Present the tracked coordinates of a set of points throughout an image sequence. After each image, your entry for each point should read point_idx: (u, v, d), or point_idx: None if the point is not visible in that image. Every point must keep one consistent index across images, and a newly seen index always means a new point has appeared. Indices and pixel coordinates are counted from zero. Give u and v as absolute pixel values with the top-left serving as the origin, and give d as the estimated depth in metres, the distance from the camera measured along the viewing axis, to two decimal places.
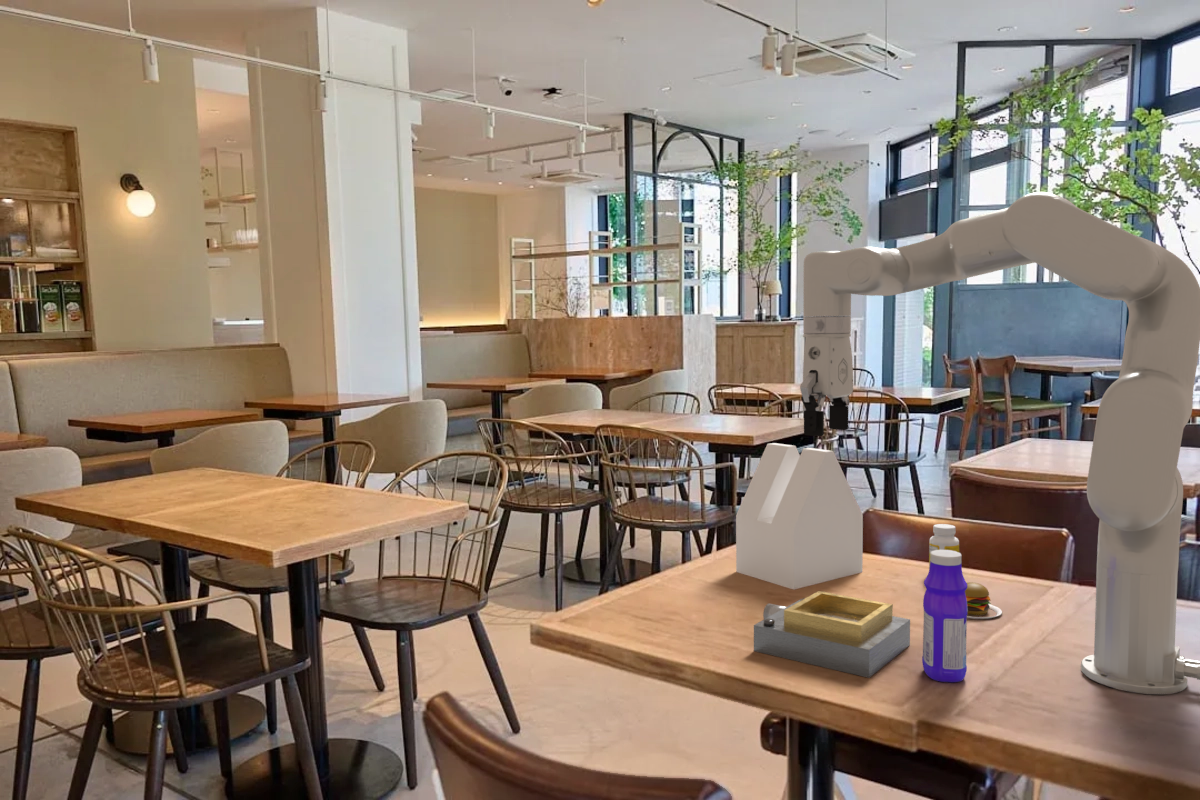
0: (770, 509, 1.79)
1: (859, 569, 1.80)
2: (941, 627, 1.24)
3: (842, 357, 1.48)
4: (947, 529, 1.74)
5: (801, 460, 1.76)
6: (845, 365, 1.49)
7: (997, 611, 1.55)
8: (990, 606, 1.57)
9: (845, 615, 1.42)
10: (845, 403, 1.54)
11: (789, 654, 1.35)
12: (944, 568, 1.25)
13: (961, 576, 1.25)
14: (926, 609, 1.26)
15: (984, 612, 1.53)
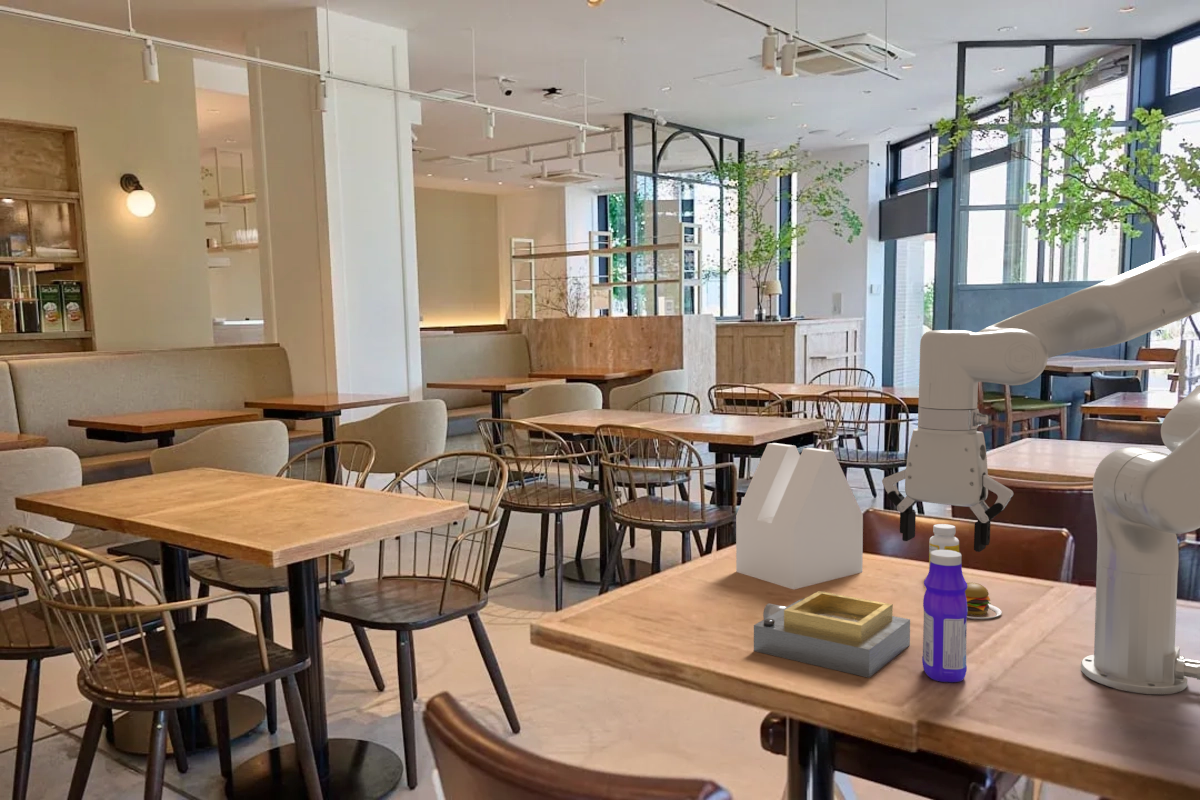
0: (770, 509, 1.79)
1: (859, 569, 1.80)
2: (941, 627, 1.24)
3: None
4: (947, 529, 1.74)
5: (801, 460, 1.76)
6: None
7: (997, 611, 1.55)
8: (989, 606, 1.57)
9: (845, 615, 1.42)
10: (911, 507, 1.30)
11: (789, 654, 1.35)
12: (944, 569, 1.25)
13: (961, 576, 1.25)
14: (926, 609, 1.26)
15: (984, 612, 1.53)
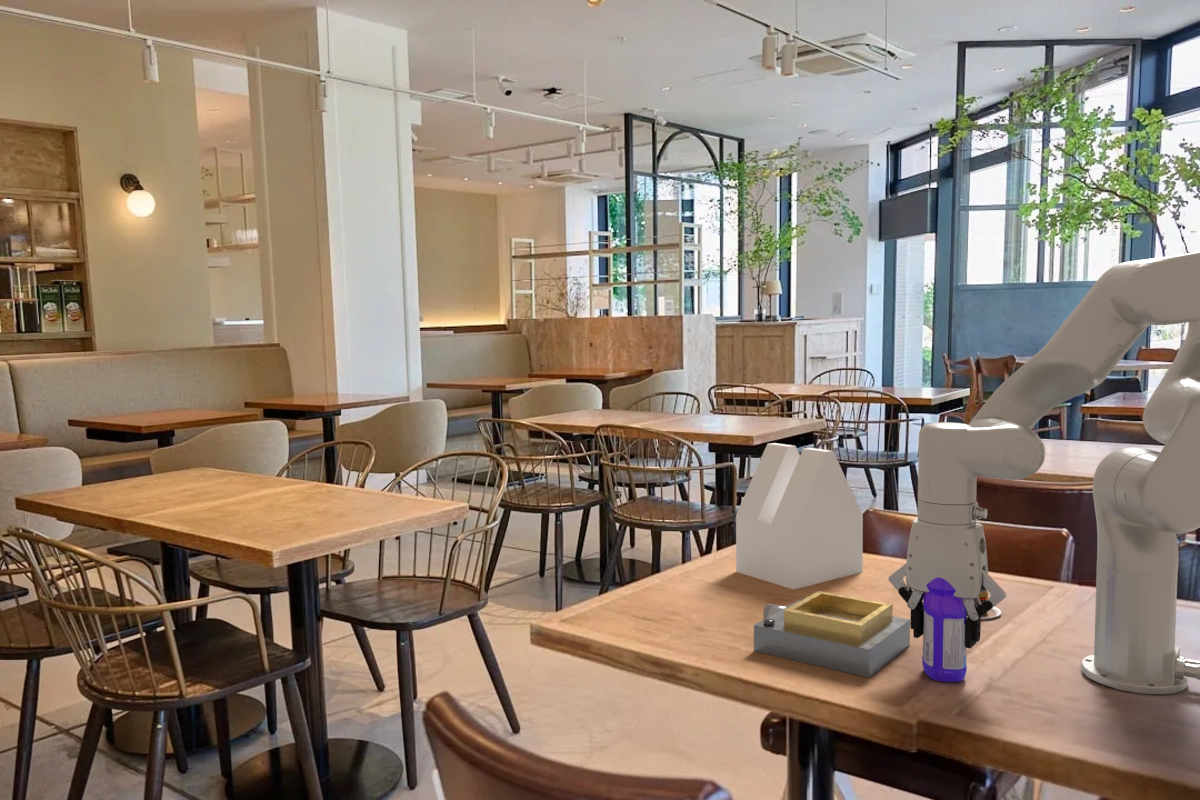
0: (770, 509, 1.79)
1: (859, 569, 1.80)
2: (941, 627, 1.24)
3: None
4: None
5: (801, 460, 1.76)
6: None
7: (996, 611, 1.55)
8: None
9: (845, 615, 1.42)
10: None
11: (789, 654, 1.35)
12: None
13: None
14: (926, 609, 1.26)
15: None
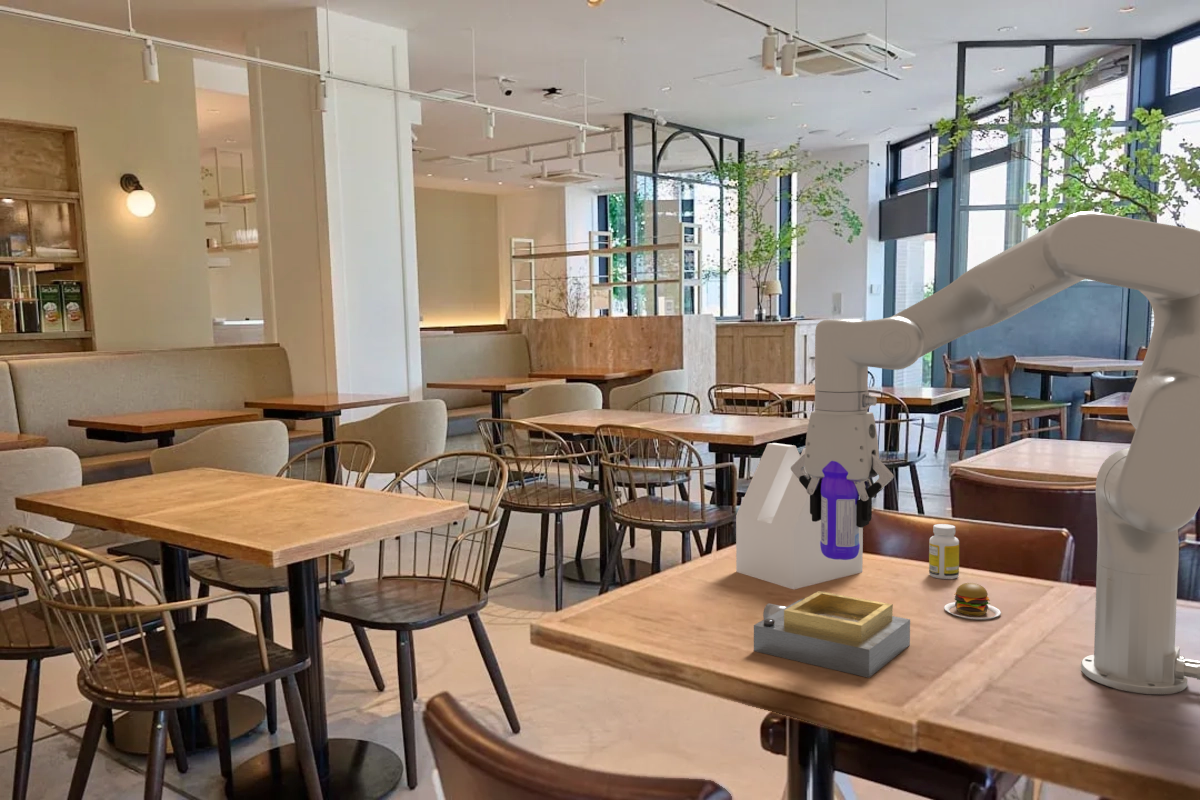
0: (770, 509, 1.79)
1: (859, 569, 1.80)
2: (834, 507, 1.33)
3: None
4: (947, 529, 1.74)
5: None
6: None
7: (995, 611, 1.55)
8: (987, 606, 1.57)
9: (845, 615, 1.42)
10: None
11: (789, 654, 1.35)
12: None
13: None
14: (822, 492, 1.35)
15: (984, 612, 1.53)
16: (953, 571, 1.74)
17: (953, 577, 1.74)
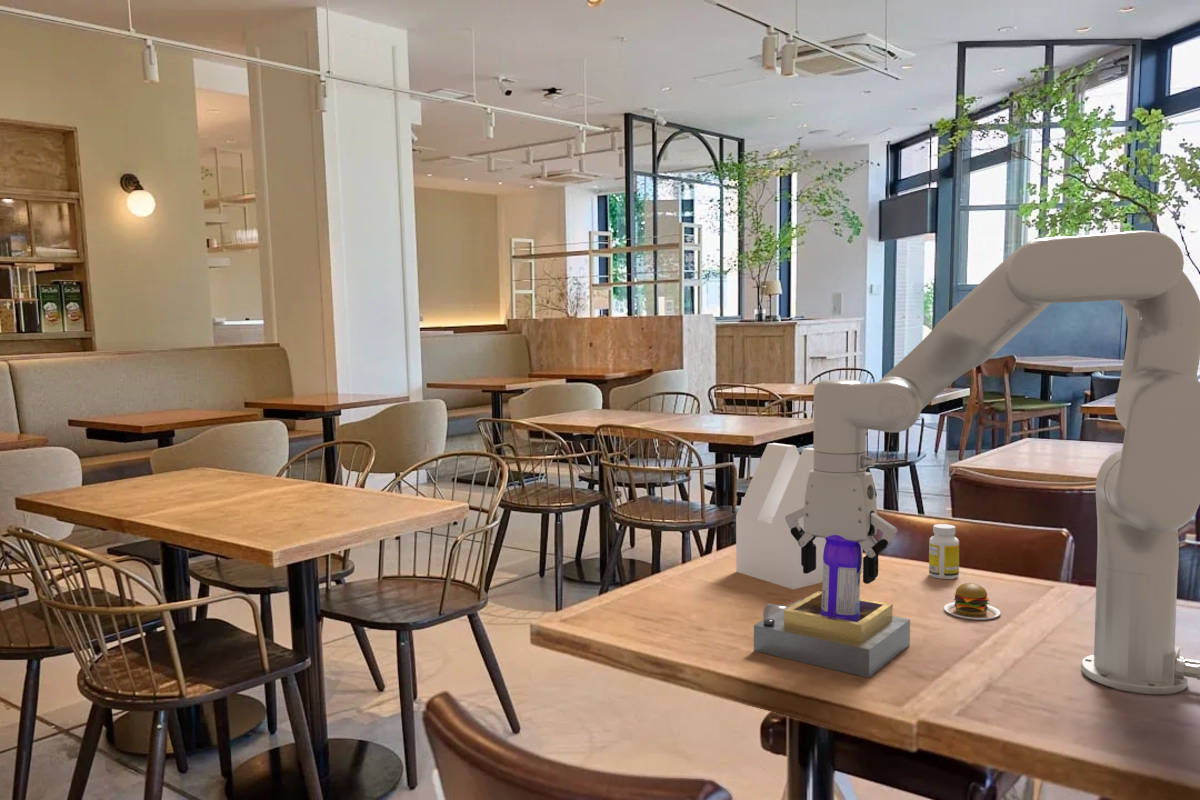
0: (770, 509, 1.79)
1: None
2: (835, 575, 1.34)
3: None
4: (947, 529, 1.74)
5: (801, 460, 1.76)
6: None
7: (995, 611, 1.55)
8: None
9: None
10: (812, 541, 1.41)
11: (789, 654, 1.35)
12: None
13: None
14: (824, 559, 1.37)
15: (983, 613, 1.53)
16: (953, 571, 1.74)
17: (953, 577, 1.74)
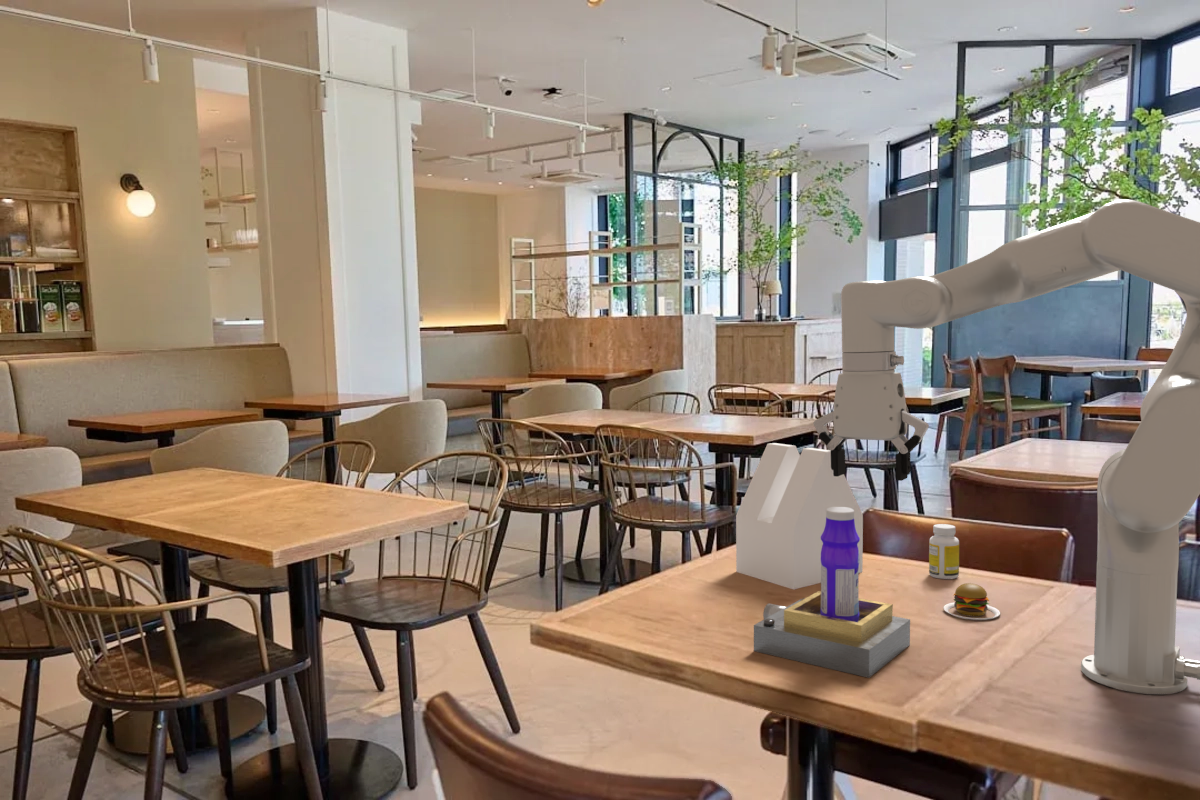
0: (770, 509, 1.79)
1: (859, 569, 1.80)
2: (833, 577, 1.34)
3: None
4: (947, 529, 1.74)
5: (801, 460, 1.76)
6: None
7: (994, 611, 1.55)
8: None
9: None
10: None
11: (789, 654, 1.35)
12: (837, 523, 1.35)
13: (853, 530, 1.35)
14: (821, 561, 1.36)
15: (983, 613, 1.53)
16: (953, 571, 1.74)
17: (953, 577, 1.74)
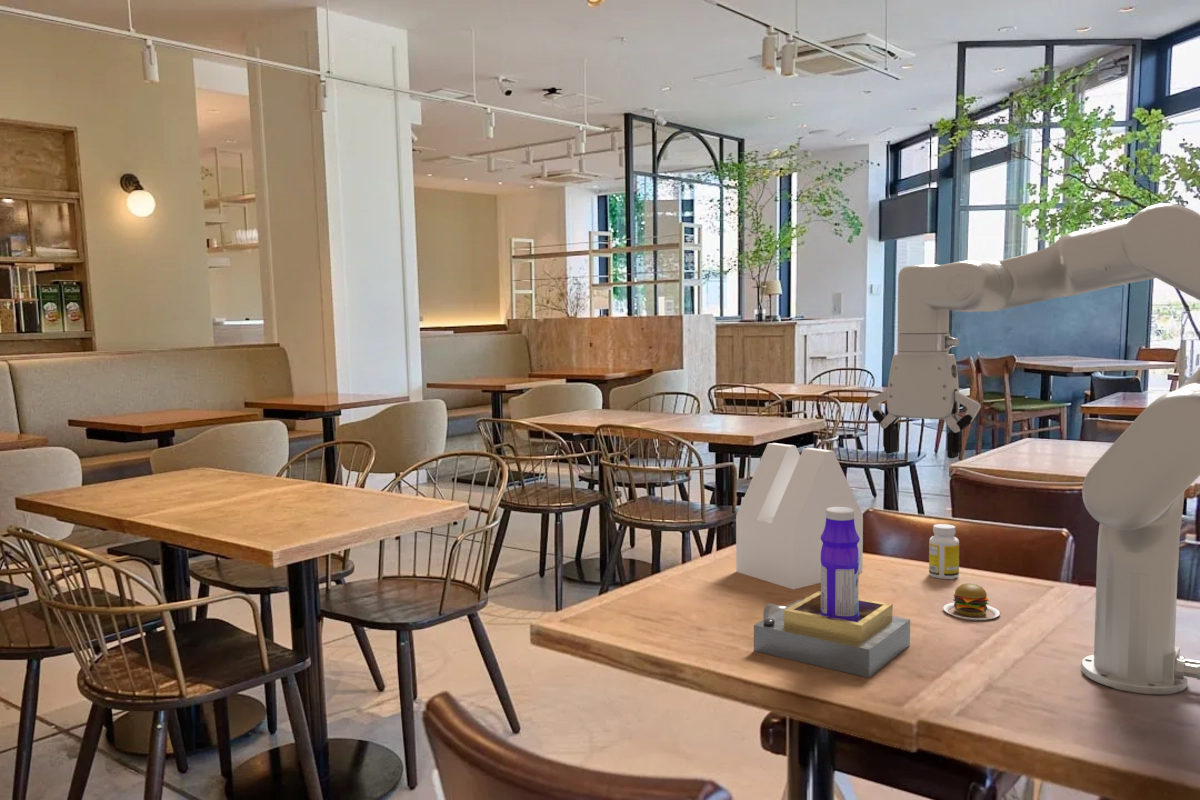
0: (770, 509, 1.79)
1: (859, 569, 1.80)
2: (833, 577, 1.34)
3: None
4: (947, 529, 1.74)
5: (801, 460, 1.76)
6: None
7: (994, 611, 1.55)
8: None
9: None
10: (893, 424, 1.47)
11: (789, 654, 1.35)
12: (837, 523, 1.35)
13: (853, 530, 1.35)
14: (821, 561, 1.36)
15: (983, 613, 1.53)
16: (953, 571, 1.74)
17: (953, 577, 1.74)
